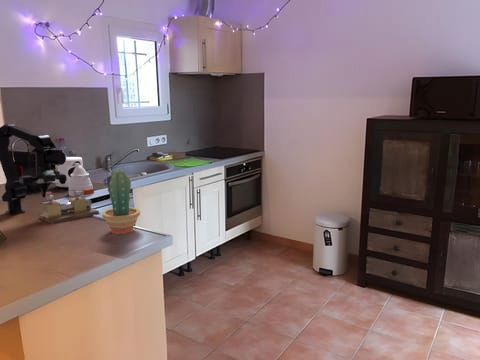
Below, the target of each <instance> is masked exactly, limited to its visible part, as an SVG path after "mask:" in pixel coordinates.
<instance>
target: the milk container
mask: <svg viewBox="0 0 480 360" xmlns="http://www.w3.org/2000/svg"><path fill="white" fill-rule="evenodd" d="M77 163H78V164H79V165H80V166H82V167H83V168H84V164H83V163H84V162H83V158H82V157H80V156H66V161H65V163H64V164H63V165H57V164H55V170H59V171H60V173H61V174H65V175H66V177H67V181H59V180H58V179H57V180H55V181H54V183H55V185H56V187H57V188H60V189H69V187H68V186H69V183H70V180H71V176H70V175H71V174H73V171H74V169H75V168H76V166H75V164H77Z"/></svg>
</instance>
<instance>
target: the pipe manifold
mask: <svg viewBox="0 0 480 360" xmlns="http://www.w3.org/2000/svg"><path fill="white" fill-rule="evenodd" d="M92 188H93V187H92ZM92 188H91V189H85V190H81V191H74V196H75V197H71V198H70V197H69V198H68V202H65V203H61V202H58V201H55V200H52V201H48V202H43V203H42V202H41V209H42V210H41V211H42V214H43V217H46V218H48V219H50V218H55V217H60V216H61V214H62V215H66V214H68V211H70V212H73V213H80V212H85V211H87V210H91V208H92V200H91V199H90V198H87V199H86V198H84V197H79V196H80V195H89V194H92V195H94V194H95V189H94V188H93V189H92ZM89 196H90V195H89Z"/></svg>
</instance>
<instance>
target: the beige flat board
mask: <svg viewBox="0 0 480 360" xmlns="http://www.w3.org/2000/svg"><path fill="white" fill-rule="evenodd" d="M99 214H100V211H99V210H97V209H94V208H92V207H91V210H87V211H85V212H80V213H73V212H70V211H68V214H66V215H62V214H61V216H60V217H55V218H50V219H48V218H46V217H43V213H42V214H38V217H39V219H41V220H43V221H44V222H47V223H50V224H51V225H54V224H58V223H63V222H67V220H68V221H72V219H73V220H76V219H82V218H86V217H90V216H91V217H92V216H96V215H99Z"/></svg>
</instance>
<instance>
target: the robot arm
mask: <svg viewBox="0 0 480 360" xmlns="http://www.w3.org/2000/svg"><path fill="white" fill-rule="evenodd" d="M12 137H16V138H18V139H21V140H24V141H25V142H28V144H29V145H30V146H31V147H33V148H34V149H32V150H31V153H33V154H35V165H34V167H35V171H36V172H35V176H31V175H21V176H19V175H18V173H17V170H16V167H15V164H14V160H13V158H12V155H11V152H10V149H9V146H10V143H11V140H10V138H12ZM66 157H67V156H66V154H65V153H64V151H63V149H61V148H60V149H59V148H57V146H56V145H55V143H54V142H53V140H52V138H51V136H50V135H48V134H43V133H35V132H32V131H30V130H28V129H25V128H22V127H20V126H18V125H16V124H15V123H6V124H3V125H2V126H0V165H1V168H2V171H3V174H4V177H5V184H4V189H5V190H4V191H5V192H4V193H3V195H2V196H1V200H2V202H5V203H6V202H7V203H6V204H7V210H6V211H5V213H6V214H8V215H9V216H10V215H16V214H21V213H22V214H23V213H26V211H25V210H24V209H23V203H22V200H23V199H26V196H27V193H28V186H27V185H29V184H30V185H31V184H33V183H34V184H36V185H37V187H38V188H39V190H40V192H41V196H42V198H47V197H46V192H48V188H49V187H50V186H51V184H54V182H55V180H57V179H58V180H59V181H67V177H66V175H65V174H61V173H60V171H59V170H56V169H54V170H53V169H52V165H56V164H57V165H63V164H64V163H65V161H66Z"/></svg>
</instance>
